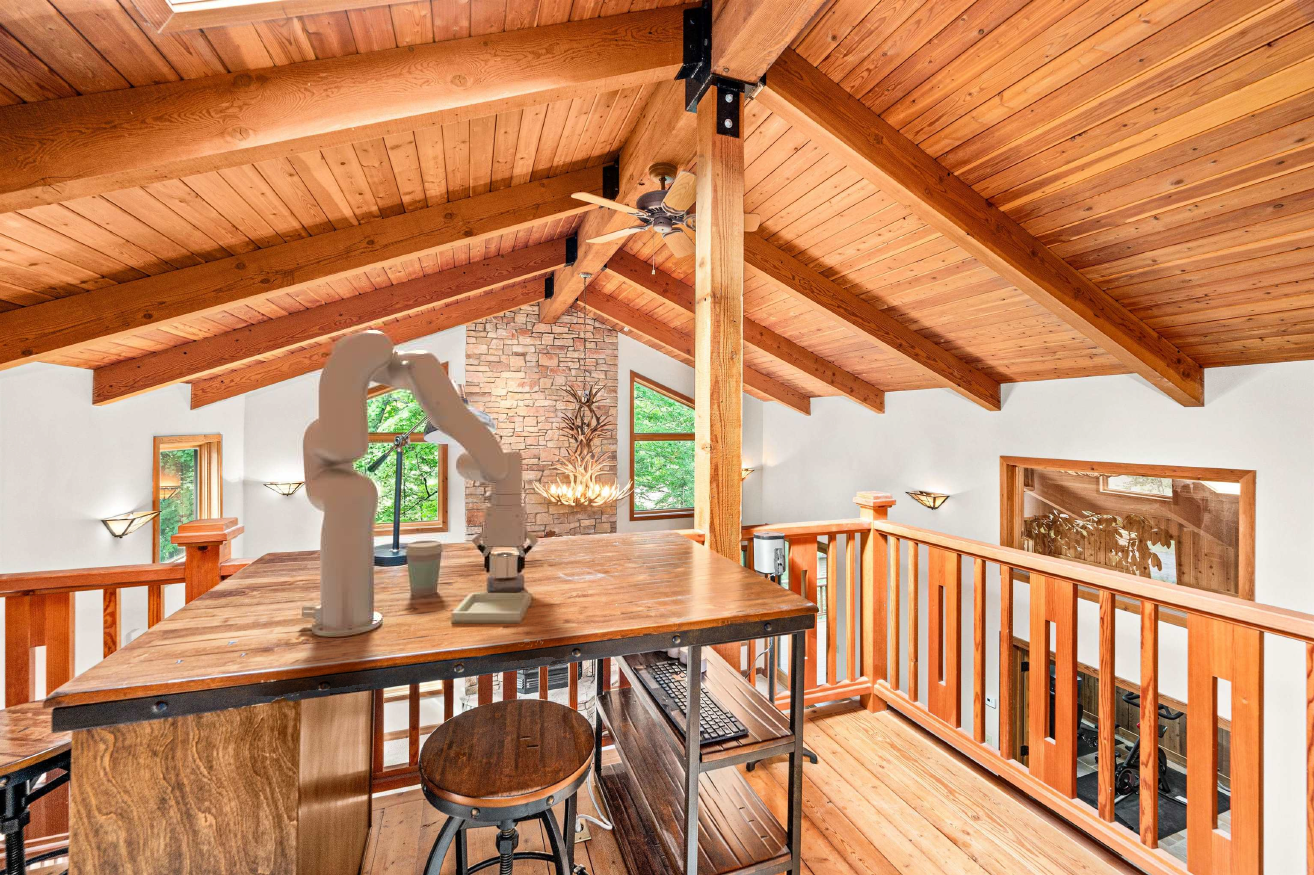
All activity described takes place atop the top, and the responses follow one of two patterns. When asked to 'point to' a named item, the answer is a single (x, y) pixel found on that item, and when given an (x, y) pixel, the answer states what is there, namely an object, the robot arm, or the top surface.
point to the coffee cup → (423, 566)
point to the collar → (503, 564)
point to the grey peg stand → (505, 583)
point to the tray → (492, 608)
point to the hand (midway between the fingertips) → (504, 570)
